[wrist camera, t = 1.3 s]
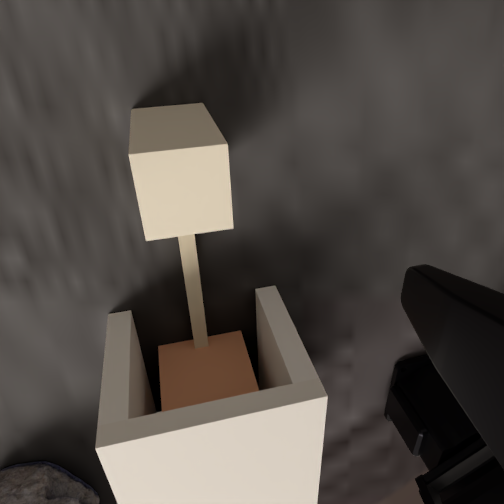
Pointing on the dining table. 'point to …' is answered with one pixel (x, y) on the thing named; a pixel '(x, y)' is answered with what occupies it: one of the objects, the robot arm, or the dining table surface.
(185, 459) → the white open box
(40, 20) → the dining table surface
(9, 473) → the decorative stone
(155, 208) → the cream and brown mallet
